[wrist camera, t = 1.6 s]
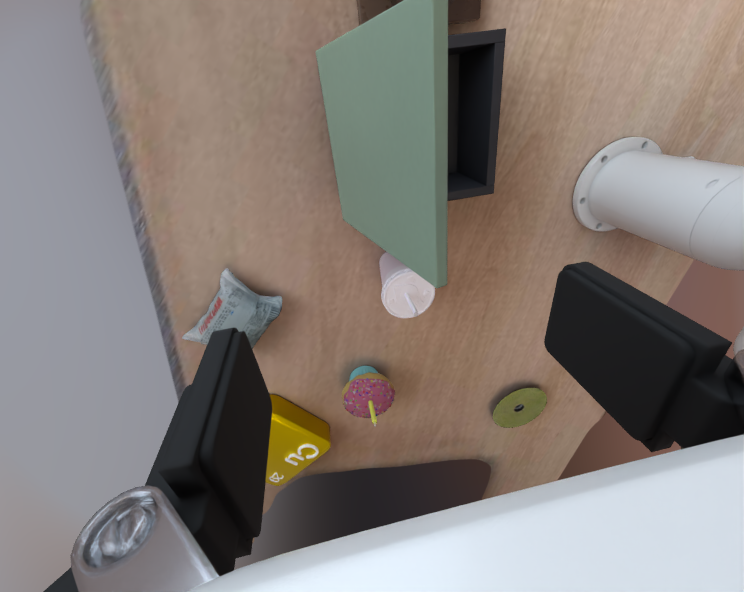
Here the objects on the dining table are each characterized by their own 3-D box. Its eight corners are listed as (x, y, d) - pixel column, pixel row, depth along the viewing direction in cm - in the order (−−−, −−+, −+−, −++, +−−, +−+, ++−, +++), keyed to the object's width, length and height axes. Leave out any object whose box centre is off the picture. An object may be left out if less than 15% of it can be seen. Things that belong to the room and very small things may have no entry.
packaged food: (188, 325, 47) (176, 348, 43) (228, 261, 43) (220, 279, 39) (246, 350, 51) (240, 372, 47) (287, 293, 47) (285, 312, 43)
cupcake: (336, 362, 55) (342, 422, 44) (386, 352, 55) (404, 408, 45) (344, 398, 59) (351, 460, 49) (390, 388, 60) (407, 447, 50)
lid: (449, -18, 13) (431, -17, 13) (447, 285, 20) (436, 289, 20) (324, 50, 26) (315, 50, 26) (350, 218, 34) (342, 220, 33)
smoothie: (389, 232, 45) (418, 279, 33) (423, 257, 48) (460, 309, 36) (360, 267, 47) (378, 324, 35) (394, 289, 50) (420, 349, 38)
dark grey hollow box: (464, 44, 36) (506, 28, 28) (461, 177, 43) (493, 193, 35) (317, 62, 34) (319, 51, 27) (339, 196, 41) (346, 217, 34)
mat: (525, 372, 63) (530, 379, 62) (550, 397, 69) (556, 404, 67) (478, 405, 66) (482, 413, 65) (506, 427, 71) (510, 435, 70)
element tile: (269, 389, 55) (266, 412, 51) (334, 425, 62) (336, 448, 58) (213, 438, 59) (206, 463, 55) (280, 467, 66) (278, 491, 62)
